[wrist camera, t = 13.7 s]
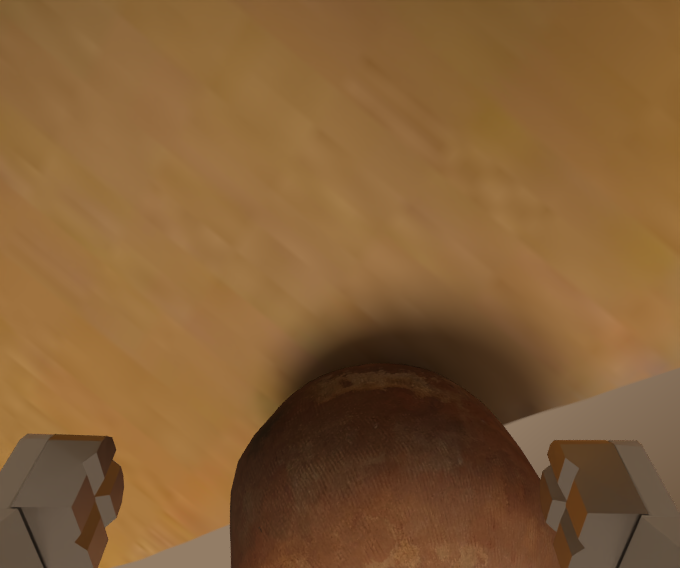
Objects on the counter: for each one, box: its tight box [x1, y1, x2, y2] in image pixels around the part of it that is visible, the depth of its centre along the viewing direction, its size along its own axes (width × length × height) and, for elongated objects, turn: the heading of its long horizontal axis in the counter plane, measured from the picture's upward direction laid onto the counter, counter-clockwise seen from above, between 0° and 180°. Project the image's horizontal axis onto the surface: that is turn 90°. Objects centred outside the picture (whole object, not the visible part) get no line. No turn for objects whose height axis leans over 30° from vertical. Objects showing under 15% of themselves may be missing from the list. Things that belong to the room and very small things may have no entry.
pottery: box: [230, 363, 560, 568], centre depth 43 cm, size 23×23×25 cm
